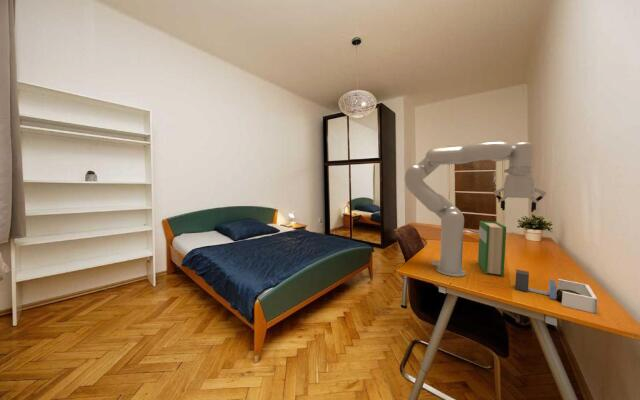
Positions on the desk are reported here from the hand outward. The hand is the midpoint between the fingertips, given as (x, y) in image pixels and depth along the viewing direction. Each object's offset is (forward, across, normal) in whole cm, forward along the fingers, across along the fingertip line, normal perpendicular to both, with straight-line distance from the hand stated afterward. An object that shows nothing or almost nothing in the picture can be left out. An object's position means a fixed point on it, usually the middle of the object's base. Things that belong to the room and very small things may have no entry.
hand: (517, 210), depth 101 cm
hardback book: (+32, -10, +13) cm, 36 cm away
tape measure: (+33, +17, -9) cm, 38 cm away
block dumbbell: (+32, +7, -6) cm, 33 cm away
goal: (+32, +18, -6) cm, 37 cm away
